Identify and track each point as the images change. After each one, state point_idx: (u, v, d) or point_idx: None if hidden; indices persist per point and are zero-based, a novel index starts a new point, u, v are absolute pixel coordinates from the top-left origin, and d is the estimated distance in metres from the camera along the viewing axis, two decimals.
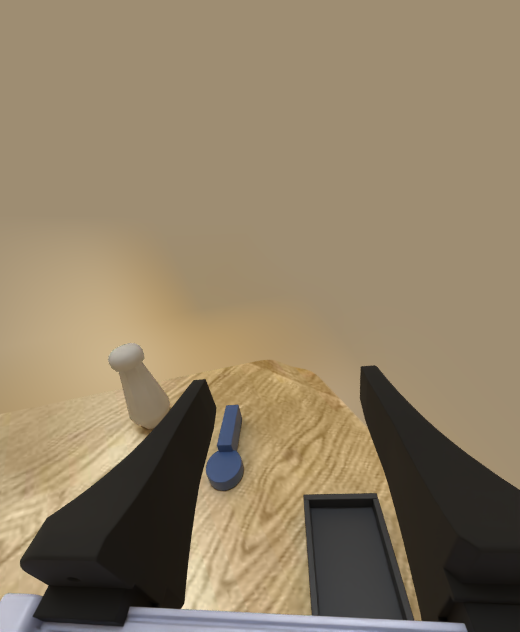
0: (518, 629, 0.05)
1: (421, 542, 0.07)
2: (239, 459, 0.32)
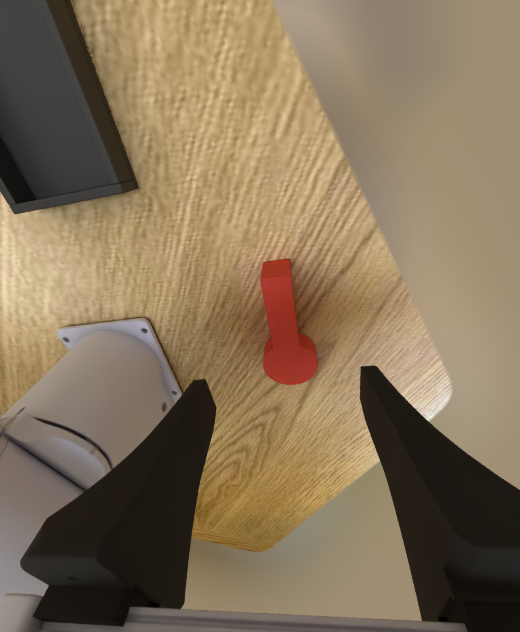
0: (518, 629, 0.05)
1: (421, 542, 0.07)
2: None
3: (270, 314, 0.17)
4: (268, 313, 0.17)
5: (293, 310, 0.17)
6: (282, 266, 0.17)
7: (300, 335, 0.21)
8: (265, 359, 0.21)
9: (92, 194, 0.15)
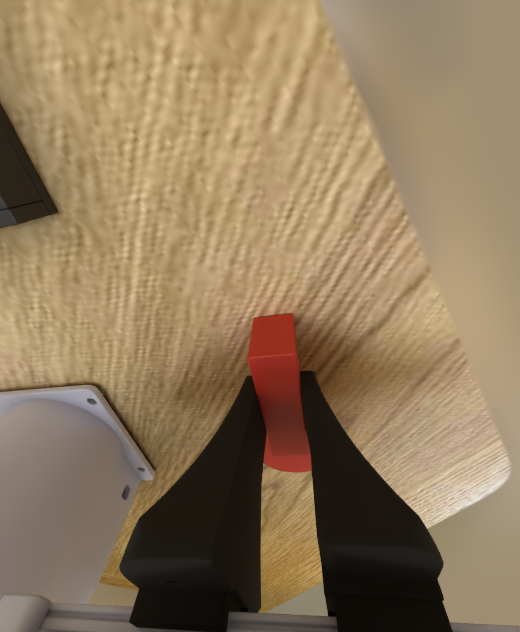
0: (375, 622, 0.06)
1: None
2: None
3: (264, 402, 0.11)
4: (261, 401, 0.11)
5: (299, 398, 0.11)
6: (282, 330, 0.11)
7: None
8: None
9: None
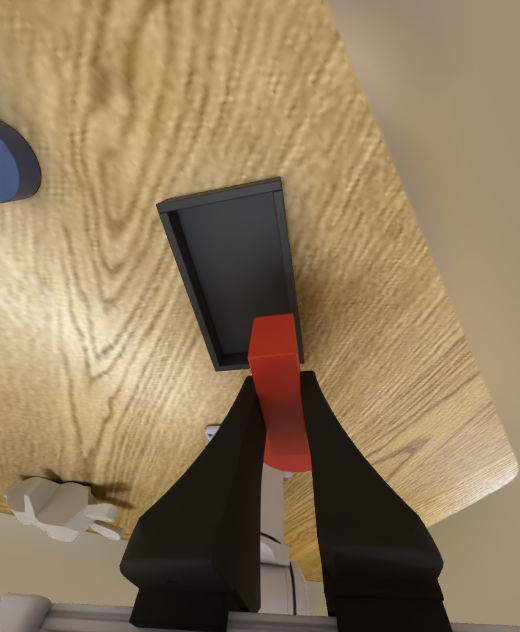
0: (375, 622, 0.06)
1: None
2: (0, 143, 0.14)
3: (264, 402, 0.11)
4: (261, 401, 0.11)
5: (299, 398, 0.11)
6: (282, 330, 0.11)
7: None
8: None
9: None
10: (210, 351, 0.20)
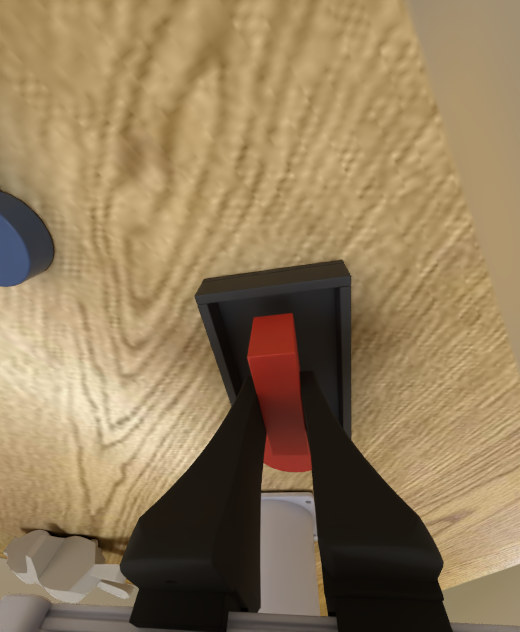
0: (375, 622, 0.06)
1: None
2: (7, 226, 0.12)
3: (264, 402, 0.11)
4: (261, 401, 0.11)
5: (299, 398, 0.11)
6: (282, 329, 0.11)
7: None
8: None
9: None
10: None
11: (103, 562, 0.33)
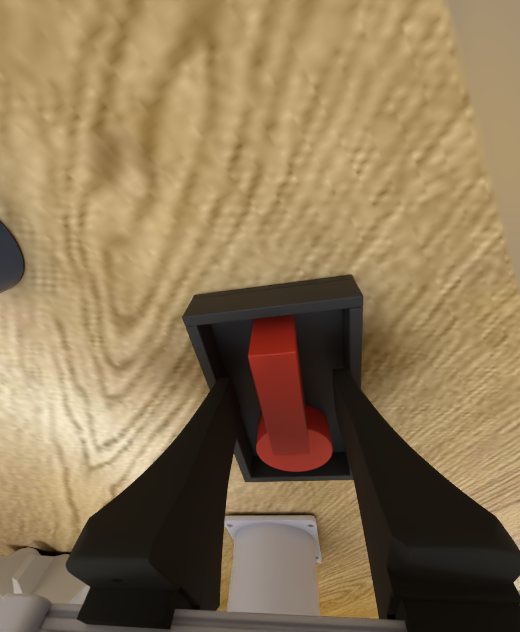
0: (451, 626, 0.05)
1: (374, 542, 0.07)
2: None
3: (264, 401, 0.11)
4: (261, 400, 0.11)
5: (300, 397, 0.11)
6: (283, 329, 0.11)
7: (308, 409, 0.15)
8: (259, 443, 0.15)
9: (328, 479, 0.16)
10: (240, 464, 0.16)
11: None
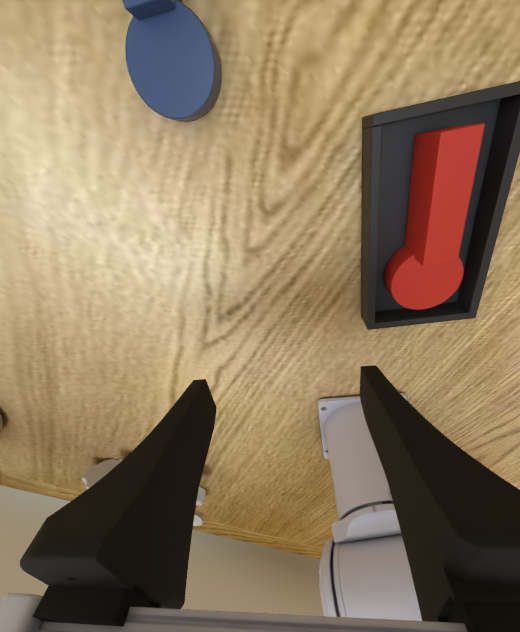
0: (518, 629, 0.05)
1: (421, 542, 0.07)
2: (204, 37, 0.12)
3: (438, 191, 0.13)
4: (435, 189, 0.13)
5: (471, 183, 0.13)
6: (455, 127, 0.13)
7: None
8: (396, 273, 0.17)
9: (448, 318, 0.18)
10: (370, 304, 0.18)
11: None
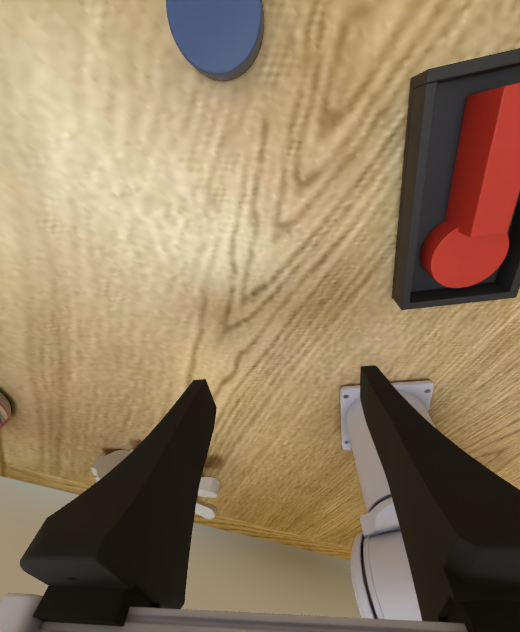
0: (518, 629, 0.05)
1: (421, 542, 0.07)
2: None
3: (495, 153, 0.12)
4: (492, 151, 0.12)
5: None
6: None
7: None
8: (438, 247, 0.16)
9: (487, 298, 0.18)
10: (407, 282, 0.17)
11: None
